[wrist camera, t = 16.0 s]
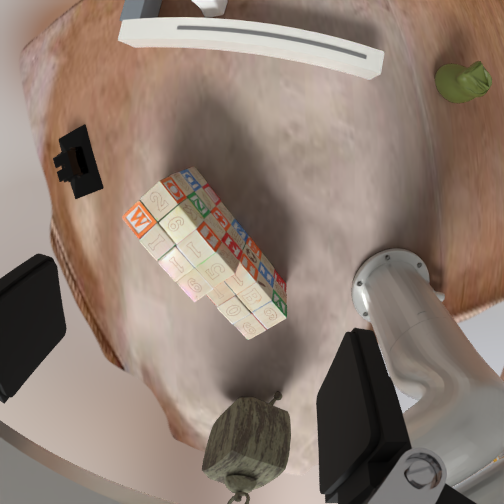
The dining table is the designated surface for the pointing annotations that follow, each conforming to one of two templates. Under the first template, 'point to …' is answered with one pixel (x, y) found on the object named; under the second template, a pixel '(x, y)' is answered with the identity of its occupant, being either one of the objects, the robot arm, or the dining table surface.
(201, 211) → the stack of blocks
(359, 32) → the dining table surface
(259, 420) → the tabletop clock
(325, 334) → the dining table surface
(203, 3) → the white faceted vase
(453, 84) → the pear
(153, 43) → the guide fence
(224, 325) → the dining table surface
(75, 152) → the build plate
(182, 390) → the dining table surface
